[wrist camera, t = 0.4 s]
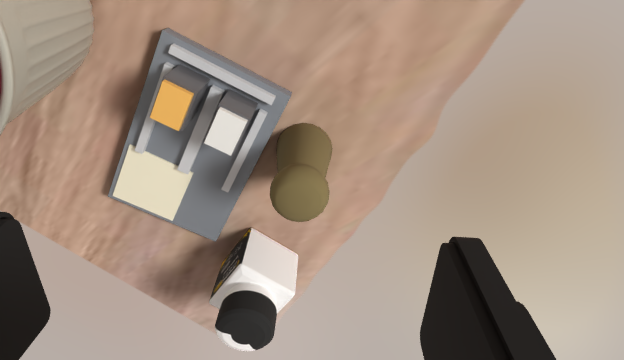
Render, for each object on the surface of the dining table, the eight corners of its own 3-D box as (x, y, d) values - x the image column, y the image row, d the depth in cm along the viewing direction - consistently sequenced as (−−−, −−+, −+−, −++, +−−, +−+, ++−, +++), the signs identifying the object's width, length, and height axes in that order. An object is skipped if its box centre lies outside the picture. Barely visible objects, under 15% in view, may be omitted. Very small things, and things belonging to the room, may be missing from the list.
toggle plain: (214, 123, 40) (201, 143, 36) (229, 88, 39) (217, 105, 34) (242, 136, 41) (232, 158, 37) (258, 103, 39) (249, 121, 35)
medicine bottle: (250, 225, 49) (230, 299, 38) (299, 253, 50) (292, 331, 40) (221, 262, 51) (195, 340, 41) (268, 288, 53) (254, 368, 43)
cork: (299, 183, 46) (293, 243, 36) (264, 144, 43) (247, 197, 34) (343, 154, 44) (348, 209, 34) (309, 111, 41) (304, 157, 32)
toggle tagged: (166, 100, 39) (146, 118, 35) (180, 63, 38) (160, 77, 33) (195, 114, 40) (179, 133, 36) (210, 79, 38) (195, 94, 34)
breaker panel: (113, 189, 47) (104, 200, 45) (168, 27, 38) (159, 31, 36) (218, 234, 49) (214, 245, 47) (291, 92, 41) (290, 99, 39)
